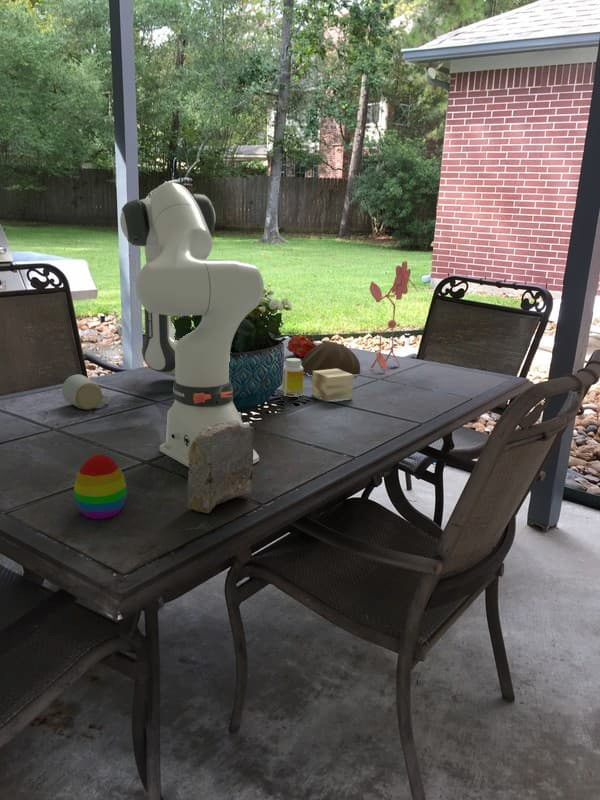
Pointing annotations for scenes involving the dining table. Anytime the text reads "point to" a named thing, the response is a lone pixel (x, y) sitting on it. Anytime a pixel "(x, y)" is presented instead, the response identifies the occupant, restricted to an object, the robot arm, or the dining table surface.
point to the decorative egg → (100, 487)
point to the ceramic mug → (83, 392)
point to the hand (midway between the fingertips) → (252, 371)
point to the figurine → (400, 288)
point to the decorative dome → (330, 359)
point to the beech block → (332, 384)
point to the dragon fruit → (300, 345)
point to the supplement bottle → (293, 378)
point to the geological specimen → (220, 465)
